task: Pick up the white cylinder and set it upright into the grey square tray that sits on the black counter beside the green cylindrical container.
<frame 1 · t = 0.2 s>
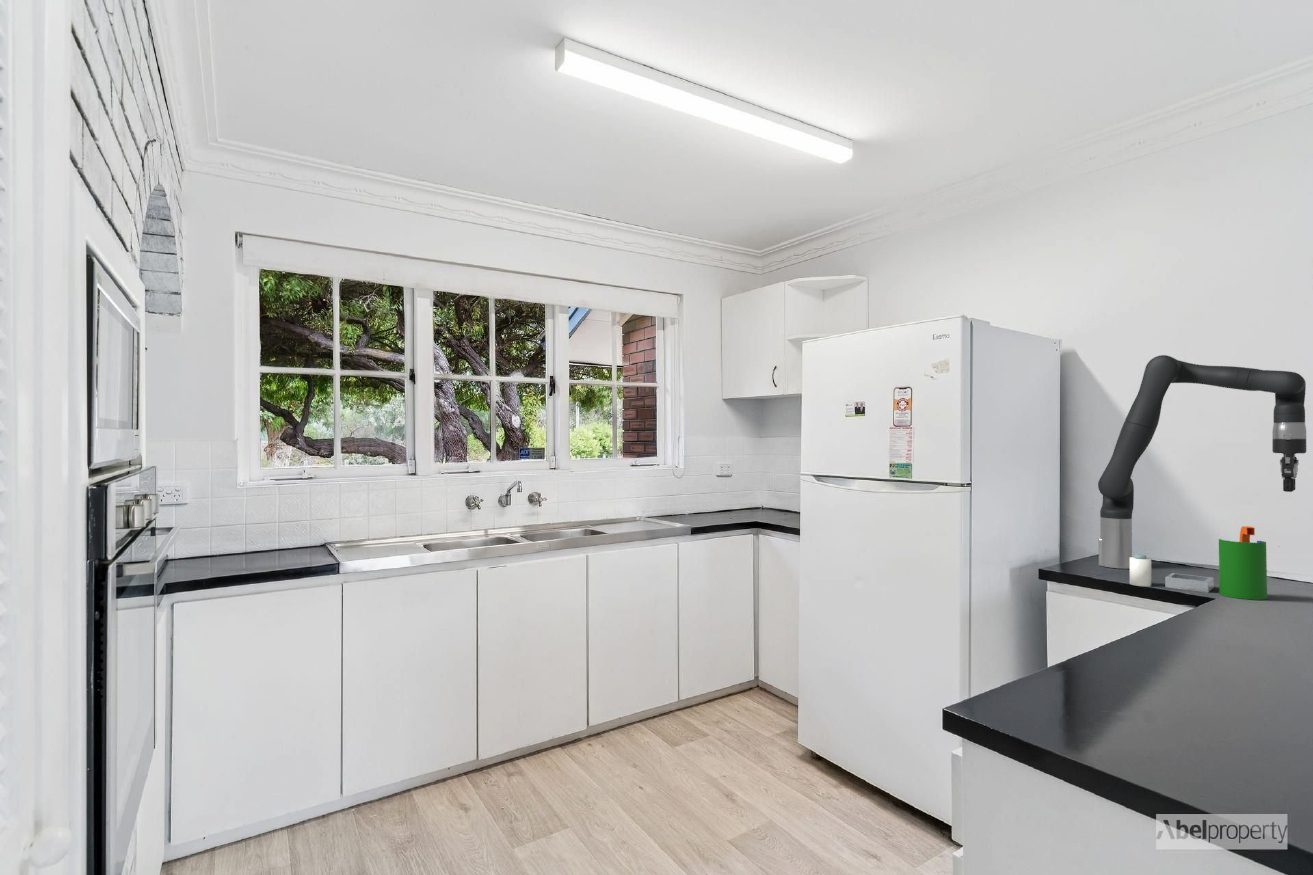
hand: (1289, 491, 203), 29 cm above the counter, tool pointing down, fingers open, 8 cm apart
green cylindrical container: (1244, 597, 189), on the counter
white cylinder: (1140, 584, 205), on the counter
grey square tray: (1189, 587, 201), on the counter
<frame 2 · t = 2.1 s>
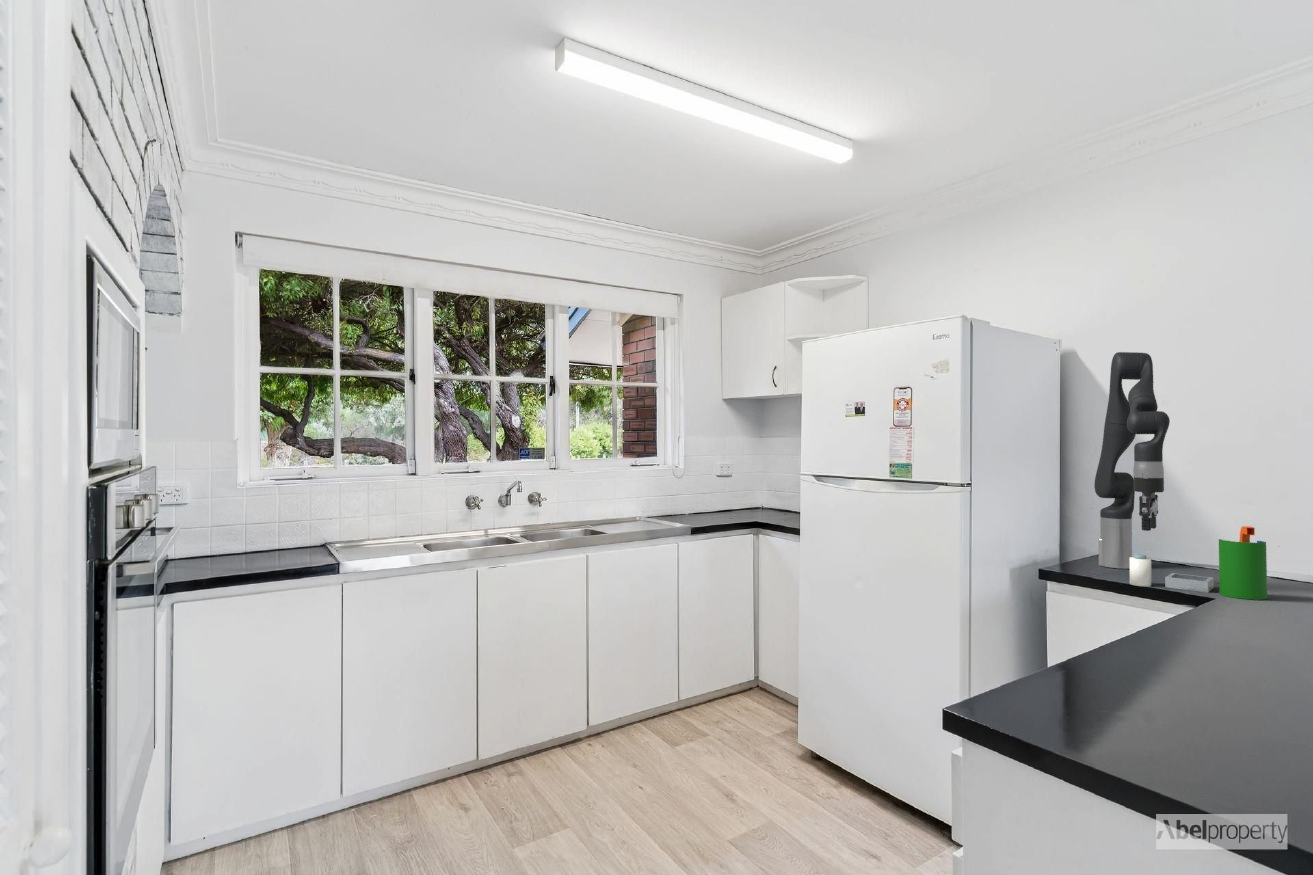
hand: (1149, 529, 204), 17 cm above the counter, tool pointing down, fingers open, 8 cm apart
nothing on the counter moved.
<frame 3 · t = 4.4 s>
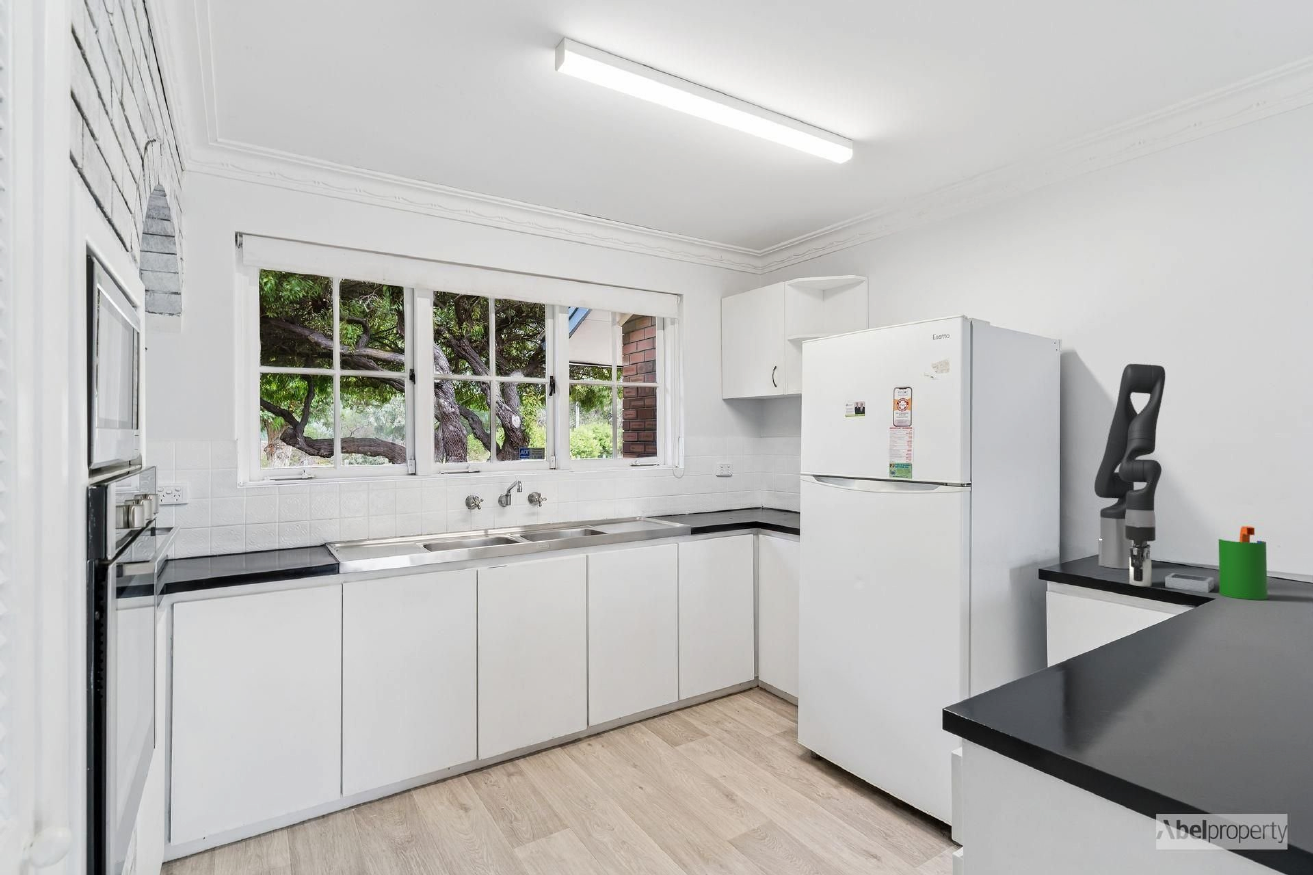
hand: (1140, 579, 205), 2 cm above the counter, tool pointing down, fingers closed on white cylinder, 5 cm apart
white cylinder: (1140, 584, 205), on the counter, touching gripper
everything else where it was.
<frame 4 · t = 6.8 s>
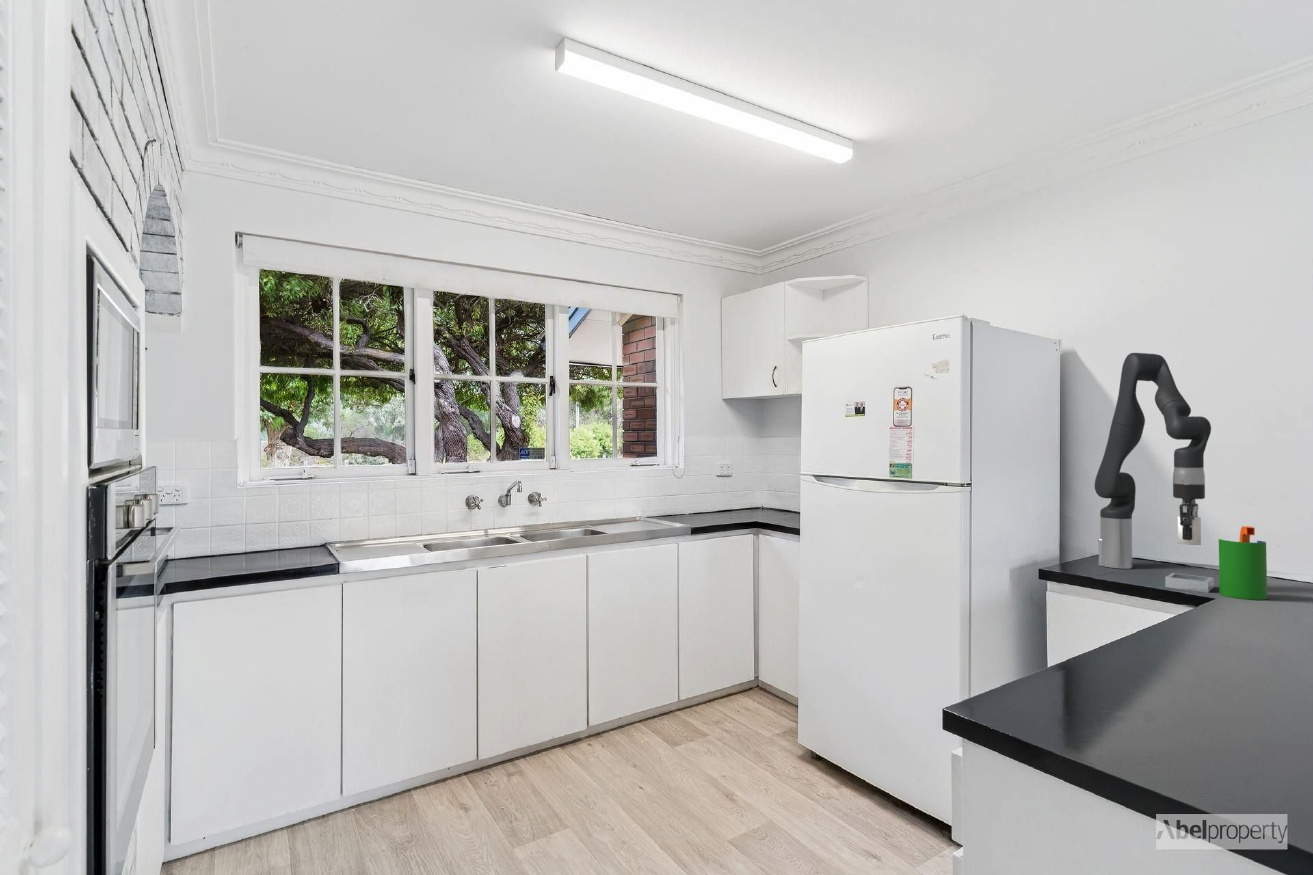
hand: (1189, 538, 201), 15 cm above the counter, tool pointing down, fingers closed on white cylinder, 5 cm apart
white cylinder: (1189, 543, 201), point 13 cm above the counter, touching gripper
everything else where it was.
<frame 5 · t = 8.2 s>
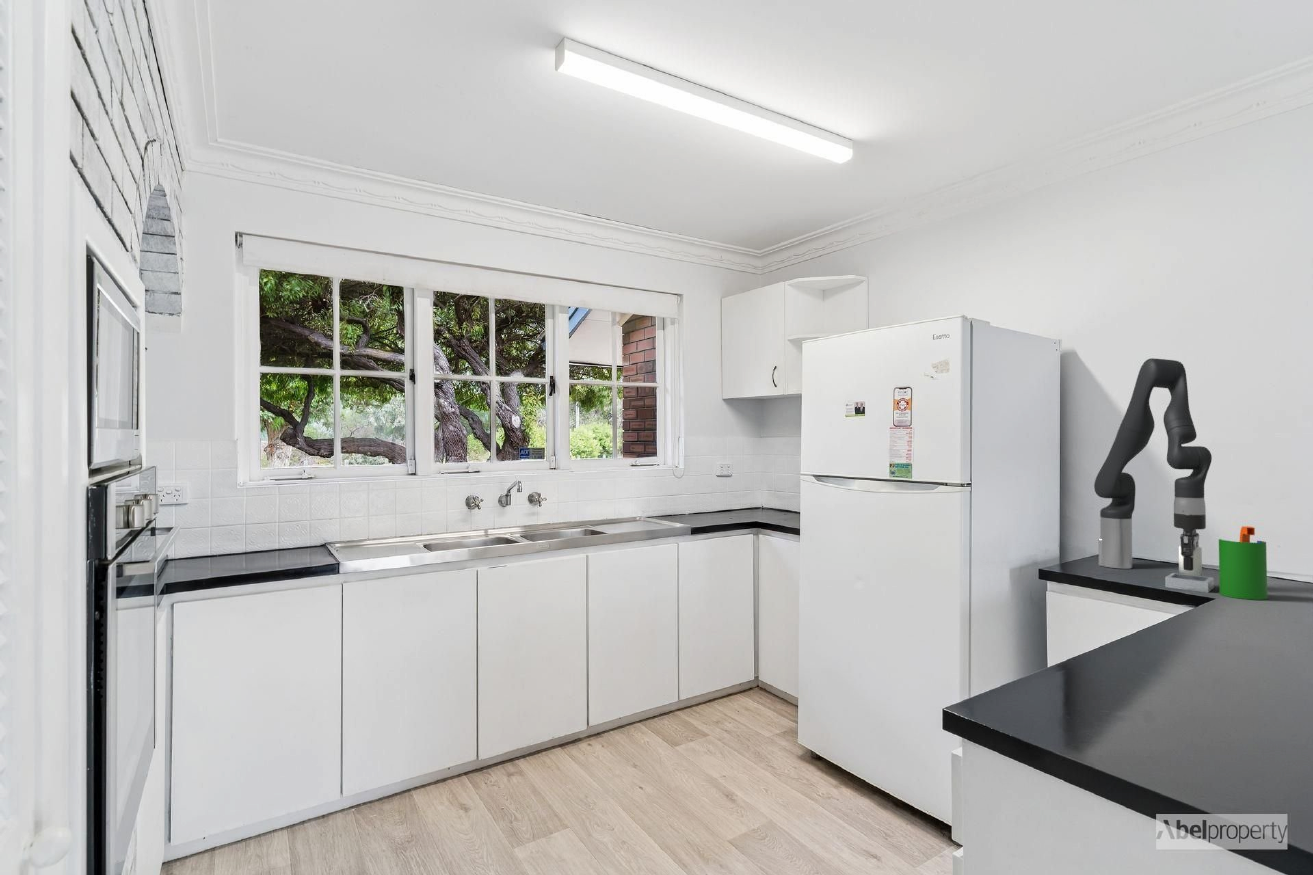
hand: (1190, 568, 201), 6 cm above the counter, tool pointing down, fingers closed on white cylinder, 5 cm apart
white cylinder: (1190, 573, 201), point 4 cm above the counter, touching gripper
everything else where it was.
when the fingers open (4 cm above the counter, at t = 9.1 s): white cylinder drops 2 cm, resting on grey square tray.
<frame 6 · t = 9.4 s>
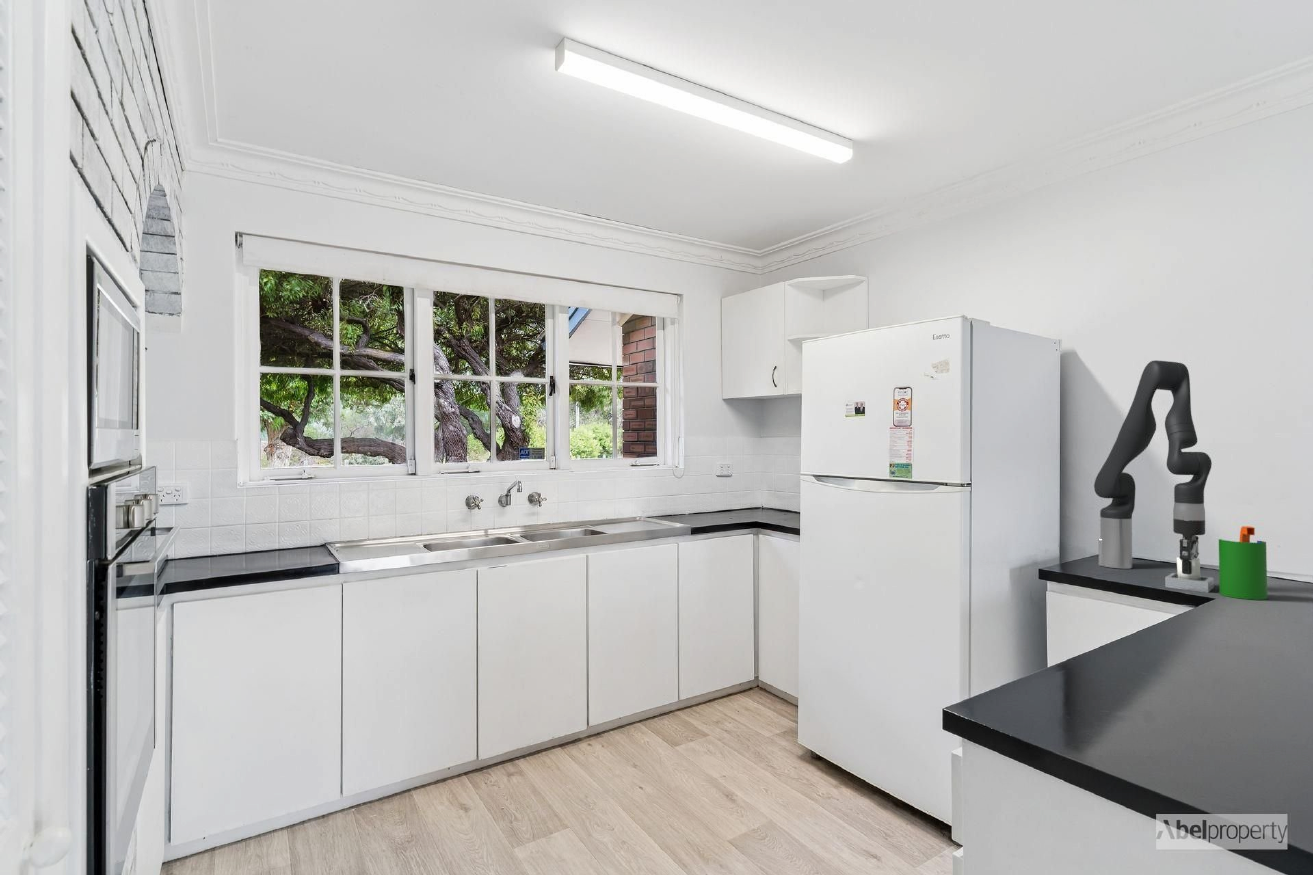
hand: (1189, 572, 201), 5 cm above the counter, tool pointing down, fingers open, 8 cm apart
white cylinder: (1189, 584, 201), point 1 cm above the counter, touching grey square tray
everything else where it was.
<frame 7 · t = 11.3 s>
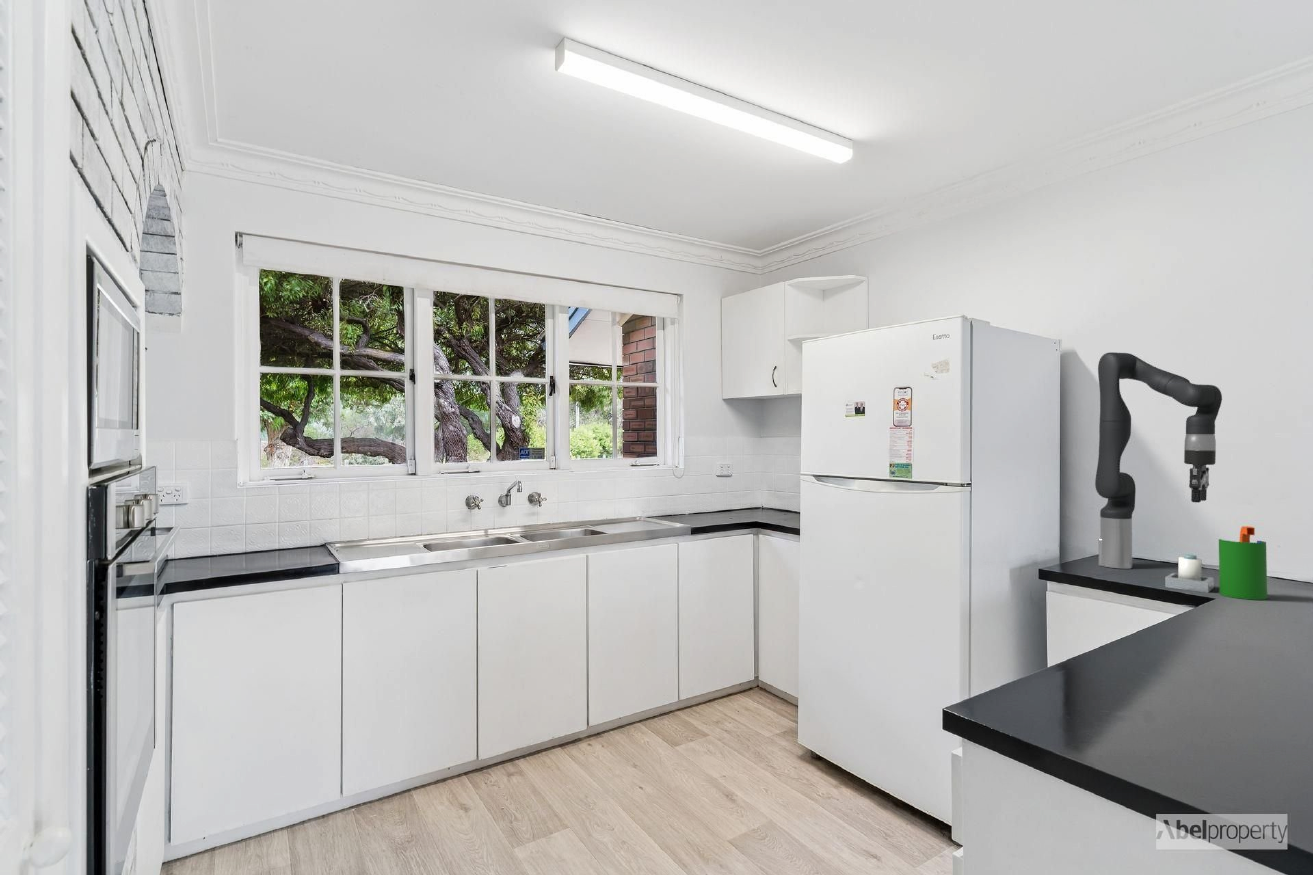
hand: (1198, 501, 207), 25 cm above the counter, tool pointing down, fingers open, 8 cm apart
nothing on the counter moved.
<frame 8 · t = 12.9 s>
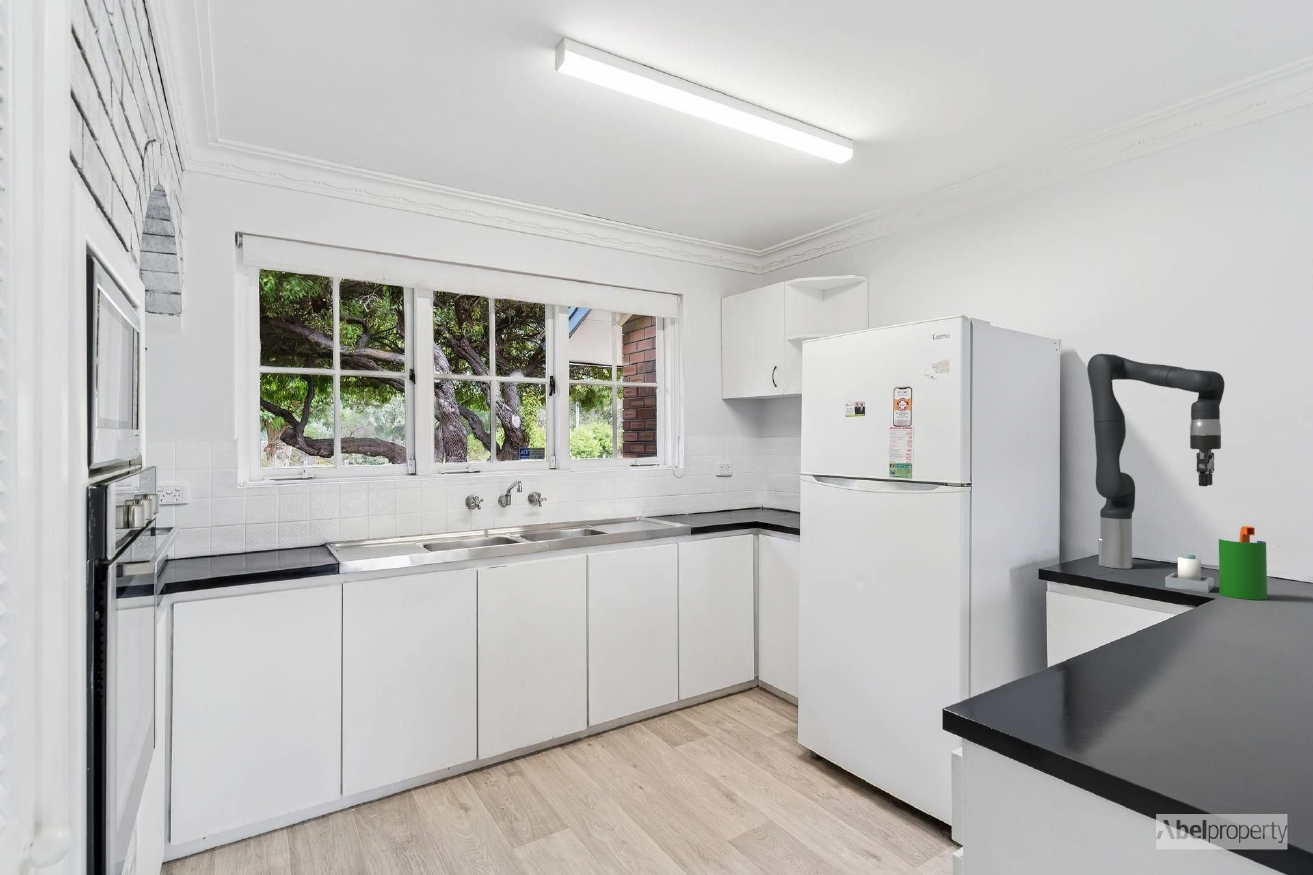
hand: (1205, 485, 210), 30 cm above the counter, tool pointing down, fingers open, 8 cm apart
nothing on the counter moved.
at the end: white cylinder 0.1 cm off-centre on the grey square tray, point 0.7 cm above the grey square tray's base; white cylinder tilted 2°; the gripper is holding nothing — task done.
